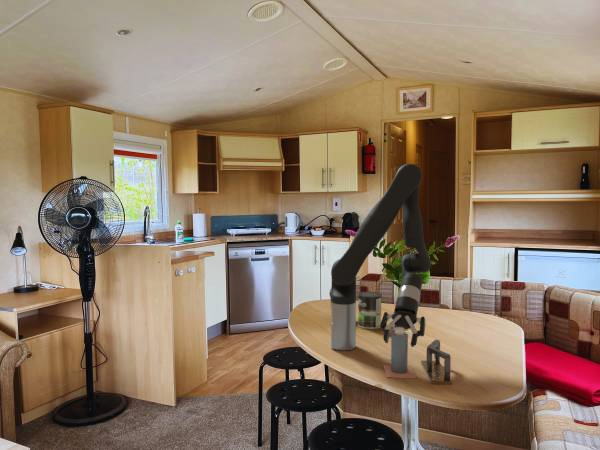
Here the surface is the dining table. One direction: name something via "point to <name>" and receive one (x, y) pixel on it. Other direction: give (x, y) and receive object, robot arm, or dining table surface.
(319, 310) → the dining table surface
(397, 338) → the bottle
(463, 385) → the dining table surface
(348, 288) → the robot arm
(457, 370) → the dining table surface
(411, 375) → the mat
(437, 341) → the dark grey frame
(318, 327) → the dining table surface
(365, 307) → the coffee can
